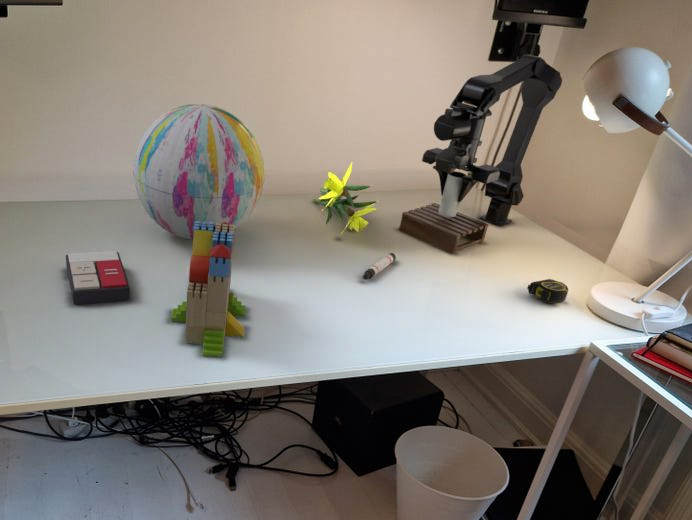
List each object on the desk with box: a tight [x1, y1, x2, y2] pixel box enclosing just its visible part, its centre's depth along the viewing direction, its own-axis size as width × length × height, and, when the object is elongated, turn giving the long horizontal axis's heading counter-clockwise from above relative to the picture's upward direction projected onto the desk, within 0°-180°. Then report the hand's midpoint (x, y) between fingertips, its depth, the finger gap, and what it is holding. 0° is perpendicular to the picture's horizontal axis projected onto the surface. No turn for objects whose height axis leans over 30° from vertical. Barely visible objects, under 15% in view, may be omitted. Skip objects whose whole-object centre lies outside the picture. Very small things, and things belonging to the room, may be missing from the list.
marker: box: [362, 252, 397, 280], centre depth 148 cm, size 15×2×2 cm, turn 145°
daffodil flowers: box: [313, 162, 378, 235], centre depth 166 cm, size 17×15×35 cm
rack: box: [398, 202, 490, 255], centre depth 168 cm, size 14×17×5 cm
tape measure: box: [526, 278, 569, 304], centre depth 143 cm, size 7×7×4 cm
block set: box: [170, 221, 247, 358], centre depth 121 cm, size 28×14×19 cm, turn 178°
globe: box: [132, 103, 265, 241], centre depth 149 cm, size 30×30×30 cm
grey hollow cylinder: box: [438, 170, 468, 217], centre depth 163 cm, size 4×4×10 cm
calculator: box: [65, 250, 131, 305], centre depth 132 cm, size 11×4×15 cm
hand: (451, 198), depth 163 cm, fingers closed on grey hollow cylinder, 4 cm apart
